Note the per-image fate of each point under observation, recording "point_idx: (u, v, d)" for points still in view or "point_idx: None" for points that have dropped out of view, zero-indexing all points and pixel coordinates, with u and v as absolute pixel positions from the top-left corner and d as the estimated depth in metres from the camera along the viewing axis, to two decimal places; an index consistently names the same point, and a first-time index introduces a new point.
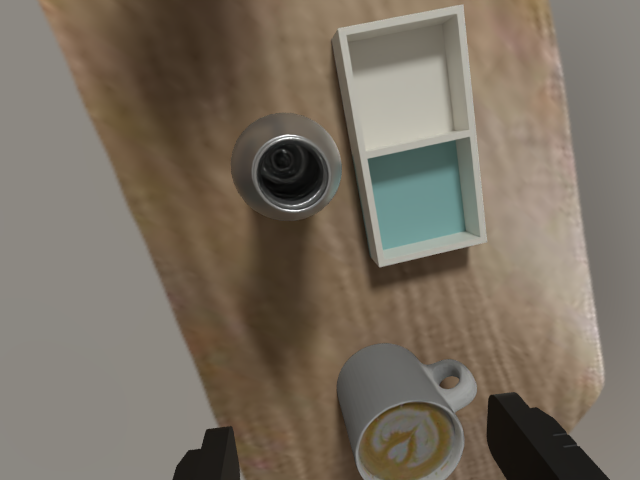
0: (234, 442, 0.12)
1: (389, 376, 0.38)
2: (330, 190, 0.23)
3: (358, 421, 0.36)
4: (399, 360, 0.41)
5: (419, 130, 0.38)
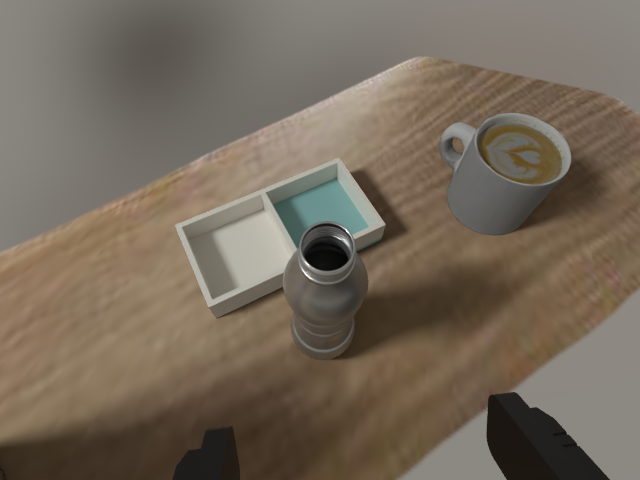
0: (234, 442, 0.12)
1: (472, 186, 0.44)
2: None
3: (519, 192, 0.41)
4: (457, 187, 0.48)
5: (269, 232, 0.48)
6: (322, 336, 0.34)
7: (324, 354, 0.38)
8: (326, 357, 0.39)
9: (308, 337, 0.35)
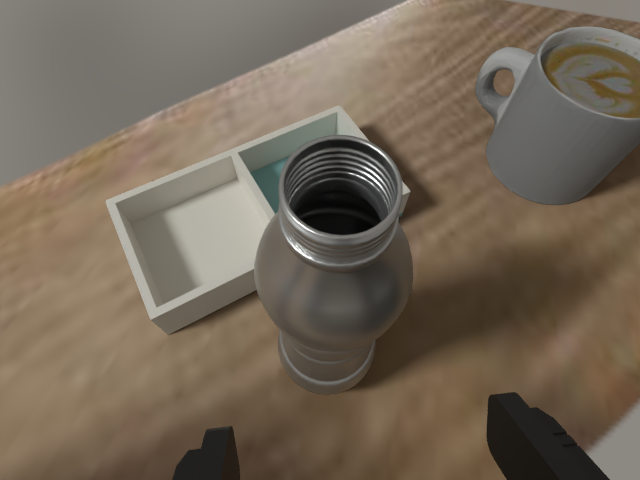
0: (234, 442, 0.12)
1: (532, 132, 0.31)
2: None
3: (610, 133, 0.28)
4: (505, 139, 0.34)
5: (246, 209, 0.34)
6: (328, 363, 0.20)
7: (330, 387, 0.24)
8: (334, 391, 0.25)
9: (305, 364, 0.22)
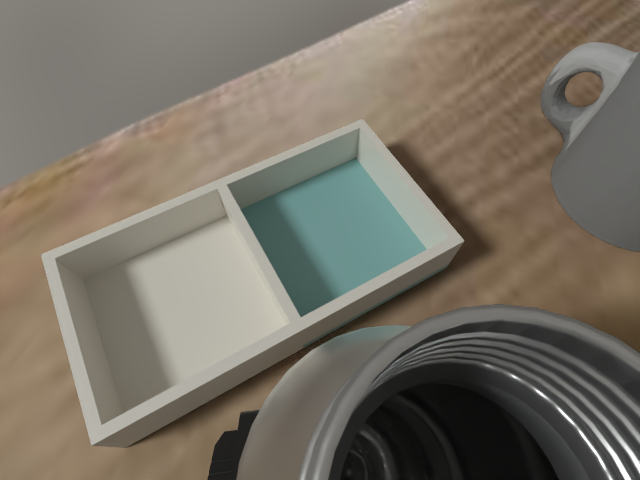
0: None
1: (635, 160, 0.22)
2: None
3: None
4: (586, 166, 0.25)
5: (238, 259, 0.25)
6: None
7: None
8: None
9: None
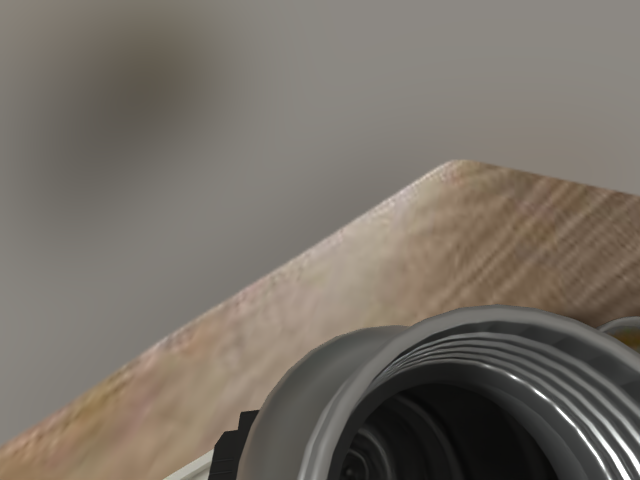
0: None
1: None
2: None
3: None
4: None
5: None
6: None
7: None
8: None
9: None
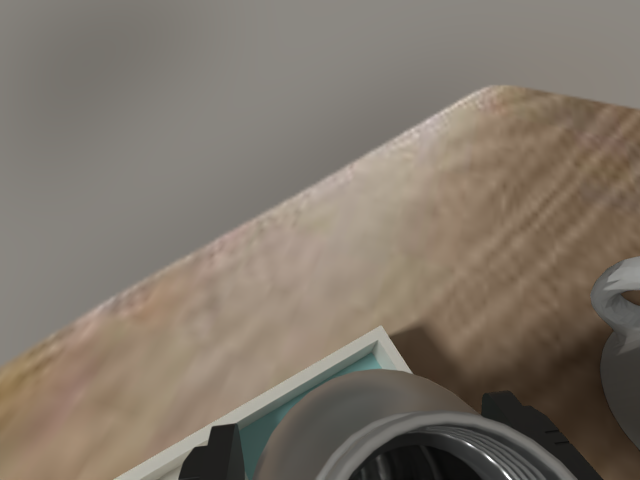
0: (239, 439, 0.12)
1: None
2: (408, 388, 0.09)
3: None
4: None
5: None
6: None
7: None
8: None
9: None
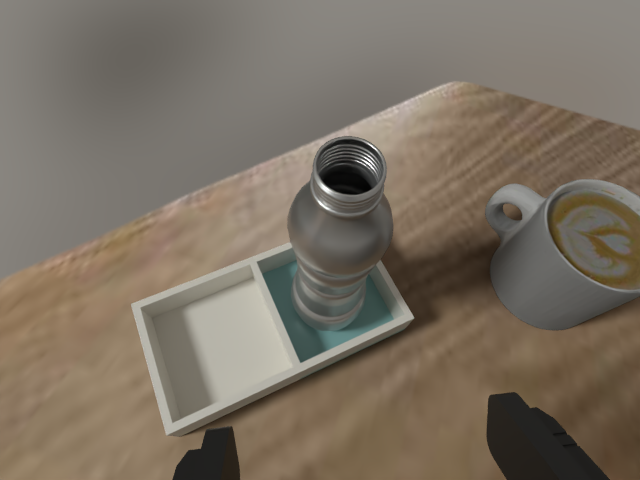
0: (234, 442, 0.12)
1: (533, 275, 0.33)
2: None
3: (604, 297, 0.30)
4: (508, 268, 0.36)
5: (259, 312, 0.36)
6: (330, 297, 0.28)
7: (329, 322, 0.32)
8: (331, 327, 0.33)
9: (312, 299, 0.30)
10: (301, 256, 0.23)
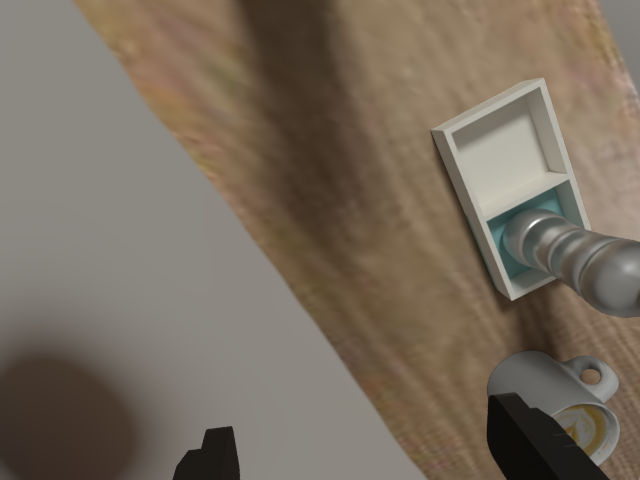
0: (234, 442, 0.12)
1: (540, 385, 0.46)
2: None
3: None
4: (542, 366, 0.48)
5: (519, 179, 0.45)
6: (548, 255, 0.38)
7: (516, 243, 0.42)
8: (510, 242, 0.43)
9: (543, 237, 0.39)
10: (602, 254, 0.32)
